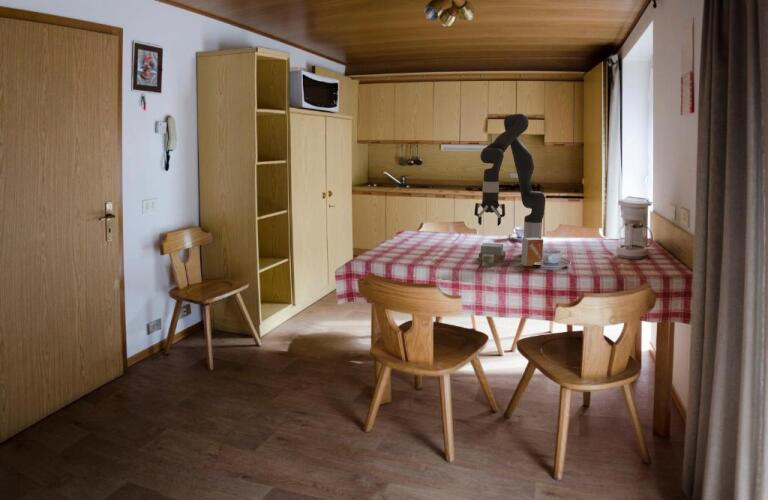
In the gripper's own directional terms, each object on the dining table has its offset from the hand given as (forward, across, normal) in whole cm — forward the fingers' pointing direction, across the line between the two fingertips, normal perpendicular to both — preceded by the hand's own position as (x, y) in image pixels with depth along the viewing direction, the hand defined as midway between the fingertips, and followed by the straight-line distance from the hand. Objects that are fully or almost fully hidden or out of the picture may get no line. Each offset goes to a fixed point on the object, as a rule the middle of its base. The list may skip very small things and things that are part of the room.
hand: (489, 225), depth 289 cm
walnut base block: (+20, 0, -15) cm, 25 cm away
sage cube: (+20, 0, 0) cm, 20 cm away
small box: (+20, -20, -8) cm, 29 cm away
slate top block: (+16, 0, -15) cm, 22 cm away
